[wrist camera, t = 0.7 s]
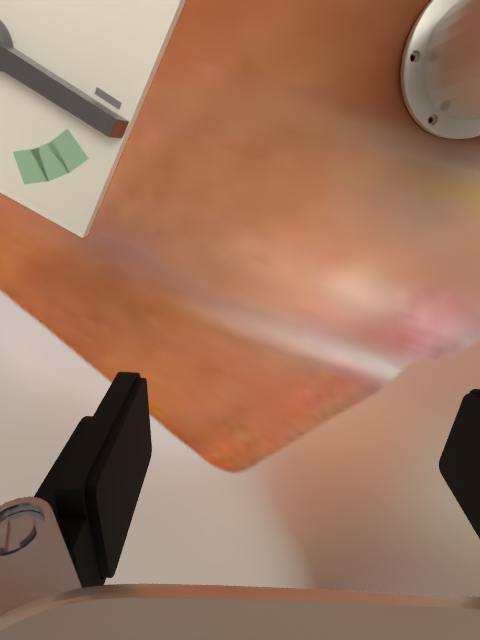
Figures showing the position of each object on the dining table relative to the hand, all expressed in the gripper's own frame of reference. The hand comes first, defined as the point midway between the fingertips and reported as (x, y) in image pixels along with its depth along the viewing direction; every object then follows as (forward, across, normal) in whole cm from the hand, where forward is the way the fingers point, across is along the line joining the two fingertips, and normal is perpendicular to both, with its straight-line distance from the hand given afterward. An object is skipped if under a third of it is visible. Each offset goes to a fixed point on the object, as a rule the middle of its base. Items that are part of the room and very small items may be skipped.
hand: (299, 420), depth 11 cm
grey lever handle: (+30, +20, -12) cm, 38 cm away
